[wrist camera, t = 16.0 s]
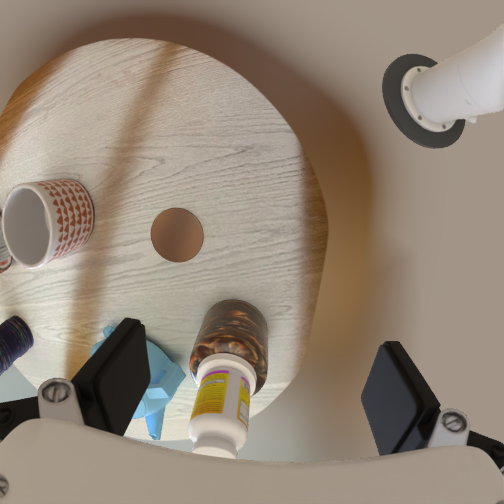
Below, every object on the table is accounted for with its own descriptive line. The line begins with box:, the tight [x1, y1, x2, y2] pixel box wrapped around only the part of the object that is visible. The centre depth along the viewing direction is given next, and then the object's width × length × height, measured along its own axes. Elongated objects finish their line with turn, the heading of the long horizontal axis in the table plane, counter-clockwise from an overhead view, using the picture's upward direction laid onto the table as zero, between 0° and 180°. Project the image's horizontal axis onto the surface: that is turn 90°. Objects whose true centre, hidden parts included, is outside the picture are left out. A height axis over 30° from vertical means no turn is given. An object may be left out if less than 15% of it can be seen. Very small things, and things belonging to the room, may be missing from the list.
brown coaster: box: [151, 208, 203, 262], centre depth 46 cm, size 9×9×1 cm
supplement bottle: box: [188, 367, 250, 459], centre depth 29 cm, size 7×7×13 cm
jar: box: [190, 300, 268, 397], centre depth 43 cm, size 12×12×15 cm
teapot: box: [91, 326, 186, 440], centre depth 47 cm, size 19×19×14 cm
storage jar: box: [0, 316, 33, 375], centre depth 47 cm, size 10×10×15 cm
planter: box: [2, 179, 94, 269], centre depth 39 cm, size 14×14×13 cm
